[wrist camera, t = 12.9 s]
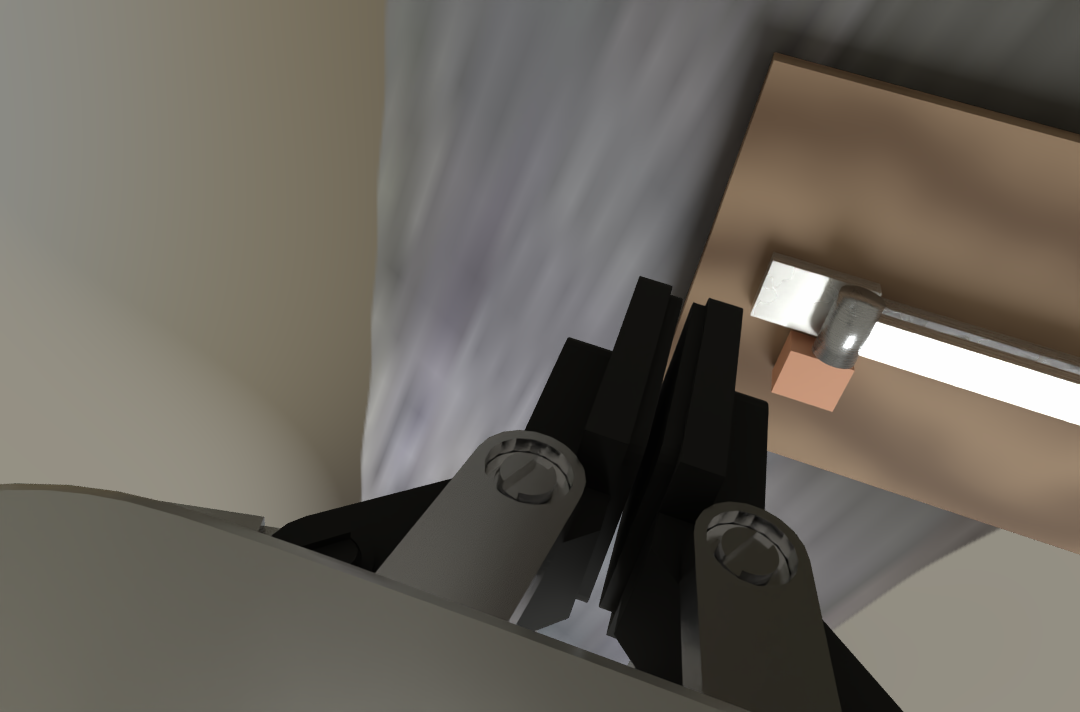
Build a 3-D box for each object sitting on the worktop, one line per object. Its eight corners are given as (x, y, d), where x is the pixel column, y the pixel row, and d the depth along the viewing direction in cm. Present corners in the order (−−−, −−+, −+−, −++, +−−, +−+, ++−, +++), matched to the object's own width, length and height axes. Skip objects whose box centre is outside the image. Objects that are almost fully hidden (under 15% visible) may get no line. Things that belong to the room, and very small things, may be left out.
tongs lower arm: (748, 310, 37) (747, 322, 36) (775, 246, 35) (775, 256, 34) (1240, 464, 35) (1253, 481, 34) (1300, 403, 33) (1315, 420, 32)
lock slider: (772, 370, 38) (771, 392, 37) (791, 329, 37) (791, 350, 35) (830, 389, 38) (832, 411, 36) (852, 348, 37) (854, 370, 35)
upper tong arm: (809, 341, 36) (809, 363, 34) (841, 276, 34) (843, 296, 32) (1254, 483, 34) (1278, 514, 32) (1318, 422, 32) (1346, 451, 30)
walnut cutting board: (774, 51, 33) (773, 59, 31) (1536, 257, 29) (1575, 277, 28) (652, 392, 44) (647, 410, 42) (1199, 573, 40) (1214, 599, 39)
